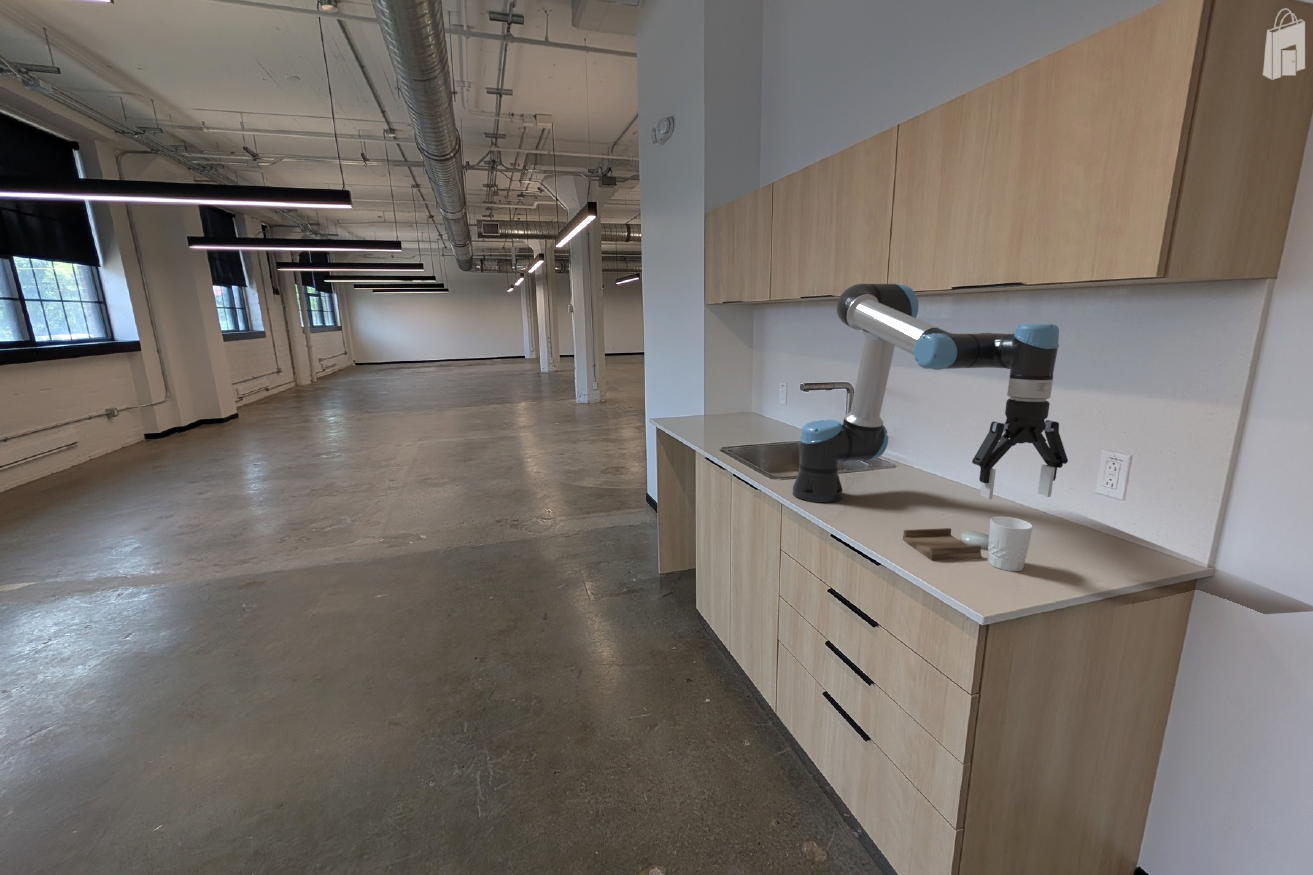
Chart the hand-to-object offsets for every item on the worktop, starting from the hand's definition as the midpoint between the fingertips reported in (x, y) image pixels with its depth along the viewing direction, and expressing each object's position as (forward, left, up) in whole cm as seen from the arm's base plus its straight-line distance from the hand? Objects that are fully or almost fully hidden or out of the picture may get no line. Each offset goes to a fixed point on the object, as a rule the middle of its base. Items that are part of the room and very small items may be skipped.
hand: (1015, 496), depth 117 cm
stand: (-10, -9, -16) cm, 21 cm away
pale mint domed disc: (-12, +2, -16) cm, 21 cm away
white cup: (0, 0, -16) cm, 16 cm away
